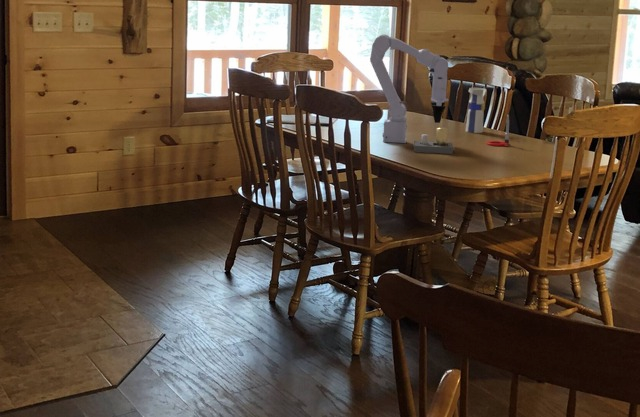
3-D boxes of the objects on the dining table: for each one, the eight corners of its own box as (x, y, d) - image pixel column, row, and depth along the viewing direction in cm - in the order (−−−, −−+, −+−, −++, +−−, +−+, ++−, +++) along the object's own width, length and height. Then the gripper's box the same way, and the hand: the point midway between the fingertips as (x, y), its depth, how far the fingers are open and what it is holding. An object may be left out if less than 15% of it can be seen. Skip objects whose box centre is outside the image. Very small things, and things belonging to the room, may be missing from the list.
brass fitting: (434, 151, 342) (436, 128, 339) (434, 149, 346) (436, 127, 344) (446, 152, 341) (447, 129, 339) (446, 150, 345) (447, 127, 343)
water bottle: (486, 131, 394) (491, 76, 387) (479, 133, 387) (484, 77, 380) (469, 129, 398) (474, 74, 391) (462, 131, 391) (466, 75, 384)
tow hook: (485, 146, 359) (507, 147, 357) (486, 115, 356) (509, 116, 354) (487, 143, 367) (509, 144, 364) (488, 112, 364) (510, 113, 361)
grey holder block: (414, 151, 339) (415, 136, 338) (413, 146, 350) (414, 132, 348) (452, 154, 338) (453, 138, 336) (451, 148, 348) (452, 134, 347)
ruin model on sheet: (396, 130, 390) (398, 108, 387) (390, 130, 389) (391, 108, 387) (393, 126, 401) (394, 105, 398) (386, 126, 400) (388, 105, 398)
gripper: (450, 90, 345) (447, 124, 348) (448, 86, 359) (445, 118, 362) (432, 89, 345) (429, 123, 349) (431, 85, 359) (428, 118, 363)
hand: (436, 121), depth 356 cm, fingers open, 7 cm apart
